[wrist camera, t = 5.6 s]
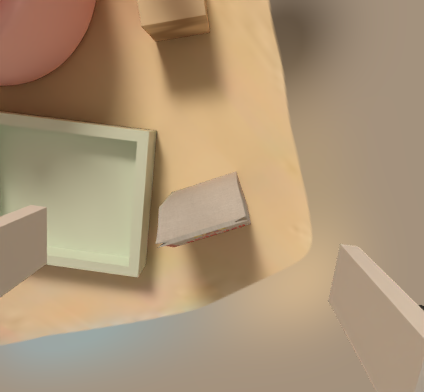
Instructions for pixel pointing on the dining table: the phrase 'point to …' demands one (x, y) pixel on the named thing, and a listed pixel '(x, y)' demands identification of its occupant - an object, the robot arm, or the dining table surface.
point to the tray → (81, 188)
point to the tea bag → (202, 211)
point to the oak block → (173, 18)
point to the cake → (39, 36)
